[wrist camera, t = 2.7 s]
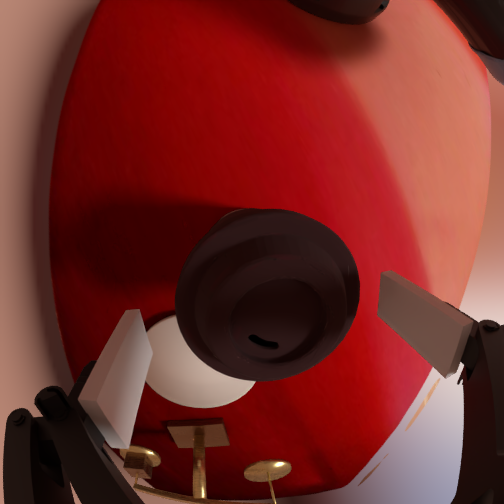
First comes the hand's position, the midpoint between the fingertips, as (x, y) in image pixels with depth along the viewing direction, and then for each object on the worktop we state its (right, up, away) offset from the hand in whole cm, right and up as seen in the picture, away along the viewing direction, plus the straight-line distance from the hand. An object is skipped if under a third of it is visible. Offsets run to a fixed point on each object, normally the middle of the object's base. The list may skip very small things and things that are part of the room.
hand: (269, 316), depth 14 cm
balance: (-9, -23, +19) cm, 31 cm away
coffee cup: (-1, +4, +13) cm, 14 cm away
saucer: (-7, -9, +16) cm, 20 cm away
